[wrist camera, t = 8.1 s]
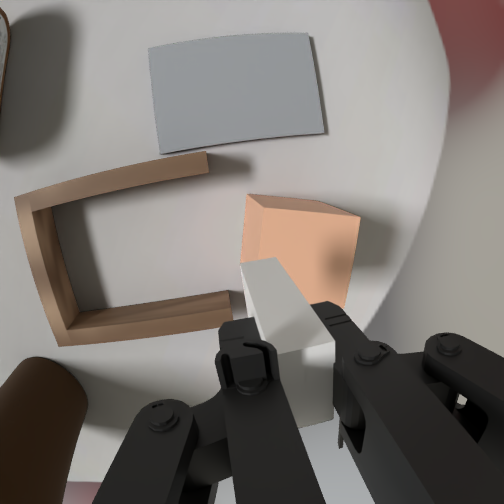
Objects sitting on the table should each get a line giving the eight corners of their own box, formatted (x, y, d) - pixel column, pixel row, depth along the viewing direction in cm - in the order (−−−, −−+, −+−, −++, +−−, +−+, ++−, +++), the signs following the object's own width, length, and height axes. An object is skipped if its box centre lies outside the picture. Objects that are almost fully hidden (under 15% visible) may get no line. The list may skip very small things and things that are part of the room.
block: (246, 194, 25) (263, 207, 18) (318, 200, 26) (360, 217, 19) (240, 266, 27) (253, 307, 19) (308, 269, 28) (343, 308, 20)
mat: (149, 50, 21) (148, 48, 20) (305, 35, 22) (307, 33, 21) (161, 154, 23) (160, 154, 23) (321, 133, 25) (324, 132, 24)
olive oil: (83, 358, 27) (-5, 584, 3) (101, 429, 30) (63, 615, 6) (3, 344, 26) (-110, 506, 2) (28, 413, 28) (-37, 567, 4)
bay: (34, 192, 22) (14, 197, 19) (206, 152, 24) (205, 150, 21) (71, 327, 26) (58, 346, 23) (230, 305, 28) (234, 324, 24)
